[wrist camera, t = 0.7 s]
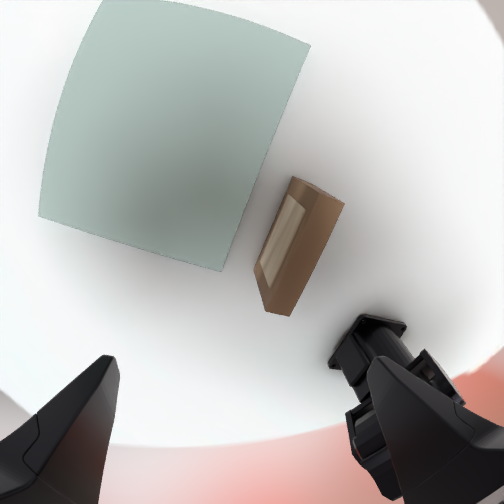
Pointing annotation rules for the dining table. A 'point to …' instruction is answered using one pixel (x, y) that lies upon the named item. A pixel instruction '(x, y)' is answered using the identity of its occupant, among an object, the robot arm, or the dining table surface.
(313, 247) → the brown wooden block
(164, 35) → the mat
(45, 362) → the dining table surface
